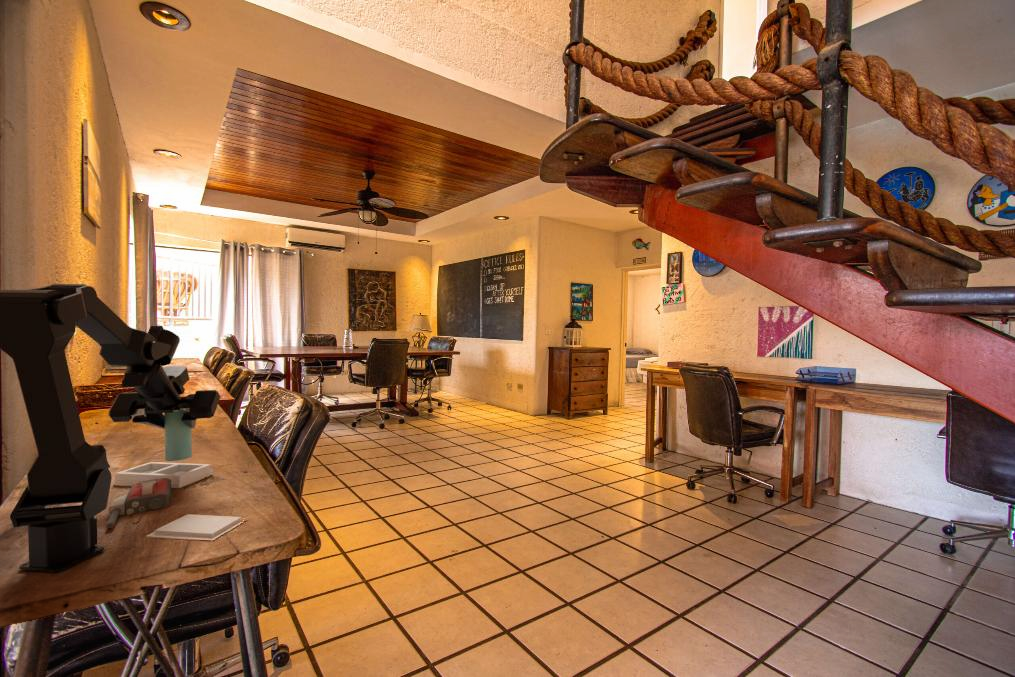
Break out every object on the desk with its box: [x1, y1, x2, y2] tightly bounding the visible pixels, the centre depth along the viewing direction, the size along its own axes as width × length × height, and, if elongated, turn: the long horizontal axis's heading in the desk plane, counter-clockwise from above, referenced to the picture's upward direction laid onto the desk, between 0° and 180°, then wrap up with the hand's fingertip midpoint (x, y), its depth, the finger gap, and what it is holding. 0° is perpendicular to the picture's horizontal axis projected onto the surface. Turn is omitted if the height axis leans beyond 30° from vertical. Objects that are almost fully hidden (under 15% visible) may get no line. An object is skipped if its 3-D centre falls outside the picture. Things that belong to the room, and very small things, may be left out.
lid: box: [145, 513, 244, 542], centre depth 75 cm, size 12×8×1 cm, turn 83°
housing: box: [112, 461, 214, 489], centre depth 99 cm, size 9×16×2 cm, turn 82°
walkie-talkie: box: [105, 478, 173, 529], centre depth 84 cm, size 9×4×20 cm
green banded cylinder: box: [163, 408, 193, 462], centre depth 99 cm, size 5×5×13 cm
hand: (181, 427), depth 100 cm, fingers closed on green banded cylinder, 5 cm apart
